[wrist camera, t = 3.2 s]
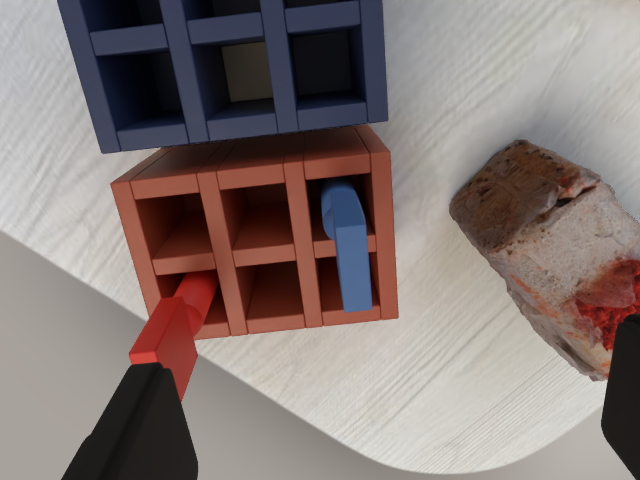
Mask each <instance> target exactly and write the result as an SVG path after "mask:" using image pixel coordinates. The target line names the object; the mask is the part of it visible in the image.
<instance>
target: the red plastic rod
mask: <svg viewBox="0 0 640 480" xmlns="http://www.w3.org/2000/svg"><path fill="white" fill-rule="evenodd" d="M218 283H219V277H218V272H217V268H216V269H211V270H202V271H193V272H186V274H185V276H184V278H183V280H182V281H181V283H180V285H179V287H178V289H177V291H176V293H175V294H174V296H173V297H170V298H162V299H160V301H159V302H158V304H157V306H156V308H155V309H154V311H153V313H152V314H151V316H150V318H149V320H148V321H147V323H146V325H145V326H144V328H143V330H142V332H141V333H140V335H139V337H138V338H137V340H136V342H135V344H134V345H133V347H132V349H131V351H130V352H129V357H130V360H131V363H132V365H133V364H142V363H152V362H160V363H161V364H162V365H163V367H164V368H170V369H171V371H172V373H173V377H174V380H175V384H176V387H177V391H178V394H179V398H180V401H182V399H183V396H184V393H185V390H186V388H187V385H188V382H189V379H190V376H191V374H192V371H193V368H194V365H195V362H196V359H197V357H198V354H197V351H196V347H195V343H194V339H193V337H194V336H196V335H197V334H198V333H199V331H200V330H201V328H202V326H203V323H204V320H205V318H206V315H207V312H208V310H209V307H210V304H211V302H212V299H213V296H214V294H215V291H216V288H217V286H218Z"/></svg>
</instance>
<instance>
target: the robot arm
mask: <svg viewBox="0 0 640 480" xmlns="http://www.w3.org/2000/svg"><path fill="white" fill-rule="evenodd" d="M601 427H602V431H603V434H604V436H605V438H606V440H607V442H608V443H609V444H610V446H611V447H612V448H613V449H614V451H615V452H616V454H617V455H618V456H619V458H620V459H621V460H622V461H623V463H624V464H625V465H626V467H627V468H628V470H629V471H630V472H631V473H632V475H633V476H634V477H635V479H636V480H640V313H638V314H630V315H627V316H626V317H625V319H624V321H623V322H621V323H619V324H618V325H617V328H616V333H615V339H614V345H613V352H612V358H611V364H610V370H609V376H608V382H607V388H606V394H605V401H604V407H603V413H602V419H601ZM197 476H198V461H197V457H196V453H195V450H194V447H193V443H192V440H191V436H190V432H189V429H188V426H187V422H186V418H185V415H184V412H183V408H182V405H181V401H180V398H179V394H178V391H177V387H176V384H175V380H174V377H173V373H172V371H171V369H170V368H164V367H163V365H162V364H161V363H160V362H152V363H142V364H133V365H131V366H130V367H129V368H128V370H127V372H126V373H125V375H124V377H123V379H122V380H121V382H120V384H119V386H118V387H117V389H116V391H115V393H114V394H113V396H112V398H111V400H110V401H109V403H108V405H107V407H106V409H105V410H104V412H103V414H102V416H101V417H100V419H99V421H98V423H97V424H96V426H95V428H94V430H93V431H92V433H91V435H89V436H88V437H87V438H86V439H85V440H84V442H83V443H82V444H81V446H80V448H79V449H78V451H77V453H76V455H75V456H74V458H73V460H72V462H71V463H70V465H69V467H68V469H67V470H66V472H65V474H64V475H63V477H62V479H61V480H197Z"/></svg>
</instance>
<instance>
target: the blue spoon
mask: <svg viewBox="0 0 640 480" xmlns="http://www.w3.org/2000/svg"><path fill="white" fill-rule="evenodd" d="M319 185H320V195H321V206H322V217H323V226H324V230H325V232H326V234H327V235H328V237H329V238H330V239H332V240H333V241H335V249H336V258H337V267H338V274H339V281H340V288H341V295H342V302H343V309H344V312H345V313H346V312H356V311H365V310H372V295H371V282H370V269H369V256H368V242H367V229H366V223H365V216H364V213H363V210H362V207H361V204H360V201H359V198H358V196H357V193H356V190H355V187H354V184H353V181H352V178H351V175H346V176H338V177H329V178H320V179H319Z"/></svg>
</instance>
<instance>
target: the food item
mask: <svg viewBox="0 0 640 480" xmlns="http://www.w3.org/2000/svg"><path fill="white" fill-rule="evenodd" d="M518 141H519V142H518ZM614 194H615V192H614V190H613V189H612V188H611V186H610V185H608V184H605V183H603V182H602V180H601V176H600V175H598V174H596V173H594V172H593V171H591V170H590V169H586V168H583V167H582V166H579V165H576V164H574V163H572V162H570V161H568V160H566V159H564V158H563V157H561V156H559V155H558V154H556V153H555V152H552V151H549V150H546V149H544V148H541V147H539V146H536V145H533V144H530V143H529V142H528V141H527V140H515V141H514V142H513V143H511V144H510V145H508V146H507V147H506V148H505V149H504V150H502V151H501V152H498V153H496V154H495V155H494V156H493V157H492V159H491V160H490V161H489V162H488V163H487V164H486V166H485V167H484V168H483V169H482V170H481V171H480V172H479V173H478V174H477V175H476V176H475V177H474V178H473V179H472V180H471V181H470V182H469V183H468V184H467V185H466V186H465V187H464V188H463V189H462V190H461V191H460V192H459V193H458V194H457V195H456V197H455V198H454V199H453V201H452V202H451V203H450V206H449V213H450V215H451V217H452V219H453V220H455V221H456V222H457V224H458V225H459V227H460V228H461V230H462V231H463V233H464V234H465V235H466V237H467V238H468V239H469V241H470V242H471V244H472V245H473V246H474V247H476V248H477V249H478V251H479V252H480V253H481V255H483V256H484V257H485V258H486V259H487V260H488V262H489V263H490V266H491V267H492V268H493V269H494V270H495V271H497V272H498V273H499V274H500V276H501V277H502V278H504V279H505V281H506V284H507V292H508V294H509V295H510V296H511V297H512V299H513V300H514V302H515V303H516V305H517V306H518V308H519V309H520V311H521V313H522V315H523V316H525V317H526V319H527V320H528V321H529V322H530V324H531V326H532V327H533V329H534V330H535V331H536V332H537V333H538V334H539V335H540V336H541V337H542V338H543V340H544V341H545V342H547V343H548V344H549V345H550V346H552V347H553V348H554V349H555V350H556V352H557V353H558V354H559V355H560V356H562V357H563V358H564V359H565V360H567V361H568V362H569V364H570V365H571V366H572V367H574V368H576V369H577V370H578V371H579V372H580V373H581V374H583V375H586V376H589V377H590V379H591V380H592V381H593V382H594V381H604V380H608V376H609V370H610V364H611V358H612V352H613V345H614V339H615V333H616V328H617V325H618V324H619V323H621V322H623V321H624V319H625V317H626V316H627V315H630V314H638V313H640V225H639V224H638V222H637V221H636V220H635V219H634V218H633V217H632V216H631V215H629V214H628V213H626V212H625V211H624V210H623V209H622V208H621V206H620V204H619V202H618V201H617V200H616V198H615V197H614Z"/></svg>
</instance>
